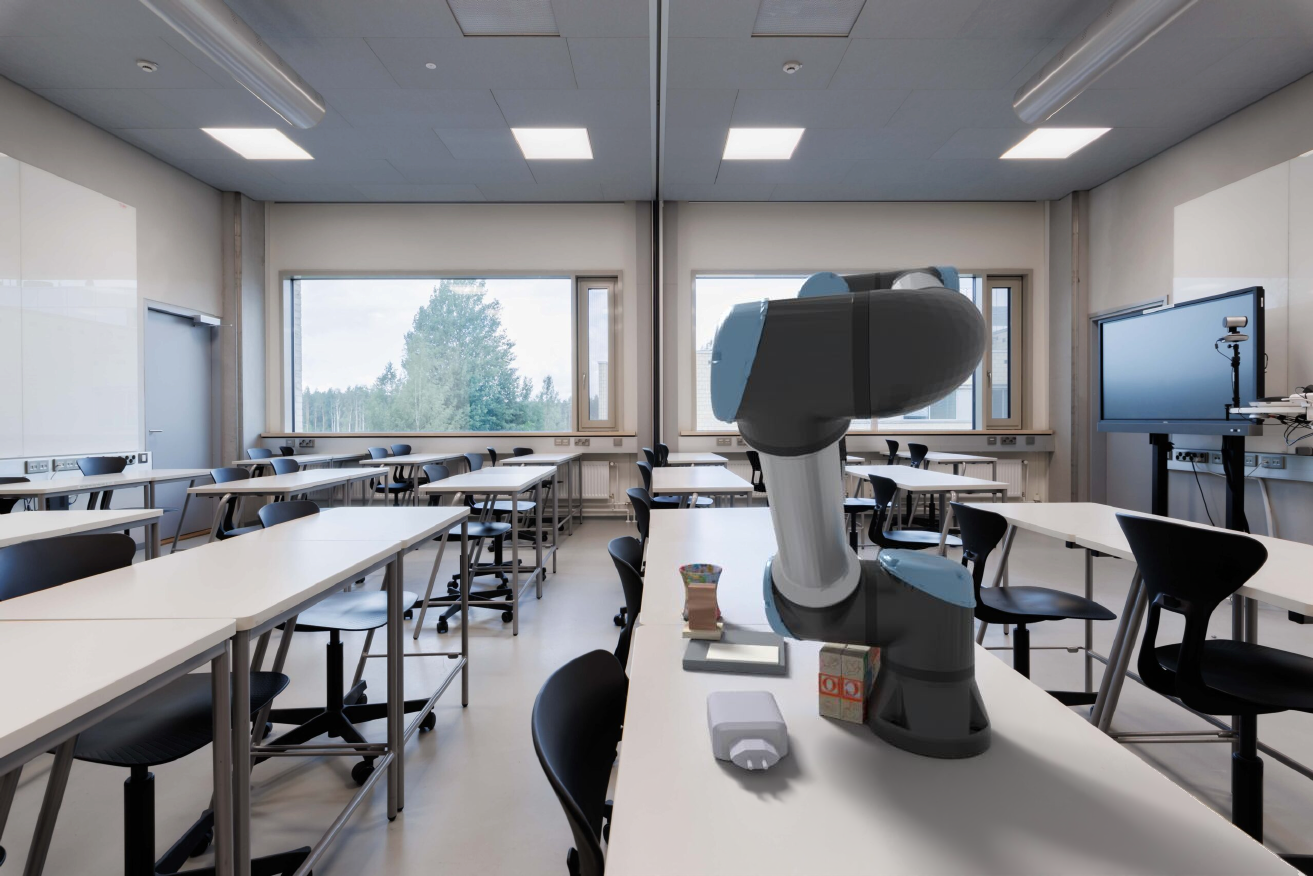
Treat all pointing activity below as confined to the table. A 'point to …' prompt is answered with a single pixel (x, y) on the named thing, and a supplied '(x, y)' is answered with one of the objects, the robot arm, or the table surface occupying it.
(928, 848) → the table surface
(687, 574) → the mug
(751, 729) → the charger
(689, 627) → the stub
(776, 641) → the board
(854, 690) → the stack of blocks
